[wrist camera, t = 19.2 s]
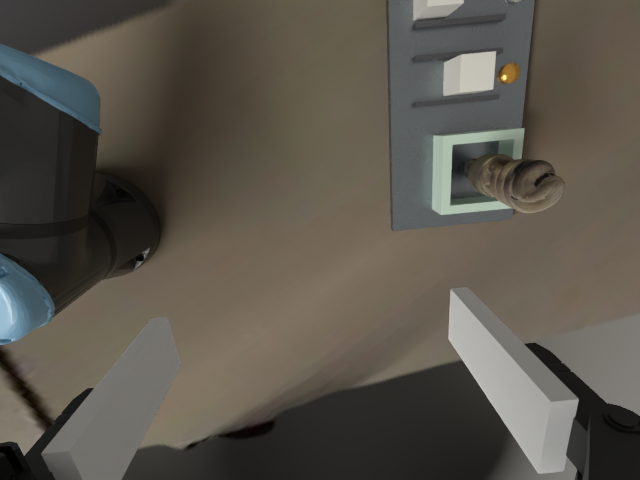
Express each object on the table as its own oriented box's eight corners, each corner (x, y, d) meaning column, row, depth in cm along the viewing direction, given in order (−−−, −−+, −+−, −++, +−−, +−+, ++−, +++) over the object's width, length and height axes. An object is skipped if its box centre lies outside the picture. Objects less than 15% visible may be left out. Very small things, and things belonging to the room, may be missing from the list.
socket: (431, 209, 49) (441, 215, 45) (433, 135, 45) (443, 136, 42) (501, 202, 49) (516, 207, 45) (508, 128, 45) (524, 128, 42)
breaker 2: (443, 96, 44) (459, 92, 39) (444, 62, 42) (461, 54, 38) (473, 93, 44) (493, 89, 39) (475, 59, 42) (496, 51, 38)
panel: (391, 228, 51) (394, 233, 48) (385, -22, 40) (390, -30, 38) (507, 217, 51) (516, 221, 49) (532, -36, 40) (544, -45, 38)
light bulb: (497, 166, 47) (584, 185, 33) (470, 196, 48) (542, 227, 34) (470, 141, 45) (549, 150, 31) (443, 173, 47) (506, 195, 33)
